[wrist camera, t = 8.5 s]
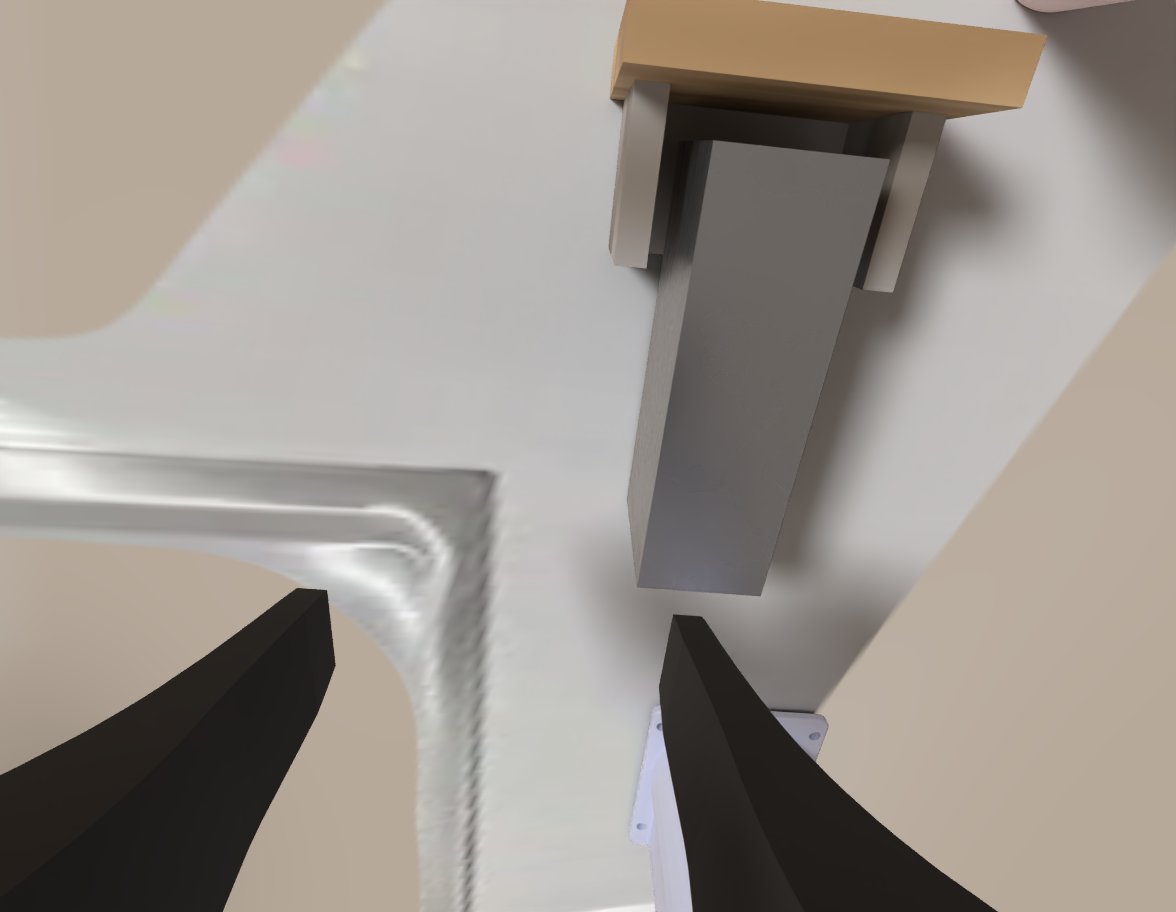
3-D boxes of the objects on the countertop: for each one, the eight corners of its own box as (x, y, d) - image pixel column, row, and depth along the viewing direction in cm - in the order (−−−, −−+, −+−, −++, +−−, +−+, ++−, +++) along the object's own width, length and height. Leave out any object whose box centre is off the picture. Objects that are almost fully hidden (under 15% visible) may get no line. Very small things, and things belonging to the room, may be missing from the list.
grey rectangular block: (680, 140, 17) (713, 139, 12) (811, 154, 17) (890, 159, 13) (627, 499, 22) (636, 587, 18) (726, 507, 23) (760, 596, 18)
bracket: (845, 271, 19) (951, 309, 14) (595, 246, 19) (601, 275, 13) (897, 80, 17) (1047, 35, 11) (614, 48, 16) (630, -15, 11)
